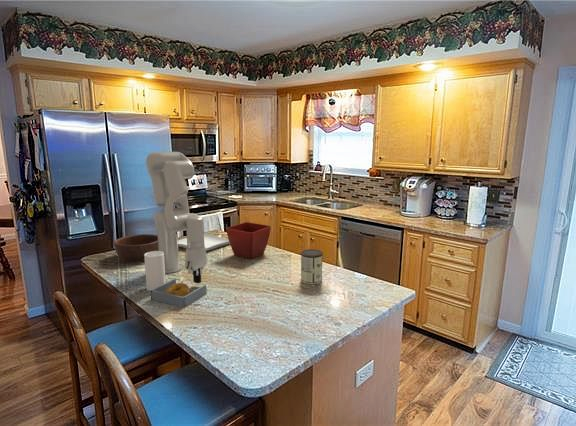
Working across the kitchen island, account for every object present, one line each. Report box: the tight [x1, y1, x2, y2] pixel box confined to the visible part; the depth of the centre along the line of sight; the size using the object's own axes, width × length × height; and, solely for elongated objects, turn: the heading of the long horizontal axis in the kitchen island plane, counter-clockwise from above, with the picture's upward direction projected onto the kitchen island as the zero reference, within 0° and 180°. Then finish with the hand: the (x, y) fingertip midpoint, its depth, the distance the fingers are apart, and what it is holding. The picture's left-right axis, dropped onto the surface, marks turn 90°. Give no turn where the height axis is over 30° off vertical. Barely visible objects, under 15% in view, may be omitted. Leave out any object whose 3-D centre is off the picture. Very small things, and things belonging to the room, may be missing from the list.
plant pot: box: [225, 221, 272, 260], centre depth 213 cm, size 19×19×17 cm
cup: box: [144, 251, 167, 292], centre depth 165 cm, size 8×8×16 cm
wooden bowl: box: [113, 233, 159, 263], centre depth 209 cm, size 25×25×10 cm
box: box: [149, 278, 208, 308], centre depth 157 cm, size 18×15×4 cm
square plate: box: [177, 233, 230, 252], centre depth 233 cm, size 27×27×4 cm
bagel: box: [165, 282, 191, 297], centre depth 157 cm, size 10×11×5 cm
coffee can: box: [300, 248, 324, 285], centre depth 175 cm, size 10×10×14 cm
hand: (197, 282), depth 168 cm, fingers closed
